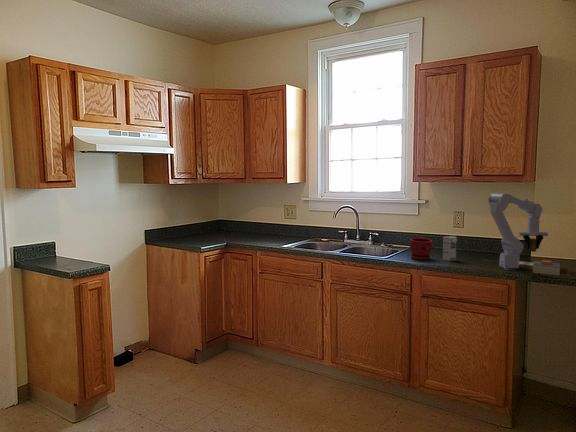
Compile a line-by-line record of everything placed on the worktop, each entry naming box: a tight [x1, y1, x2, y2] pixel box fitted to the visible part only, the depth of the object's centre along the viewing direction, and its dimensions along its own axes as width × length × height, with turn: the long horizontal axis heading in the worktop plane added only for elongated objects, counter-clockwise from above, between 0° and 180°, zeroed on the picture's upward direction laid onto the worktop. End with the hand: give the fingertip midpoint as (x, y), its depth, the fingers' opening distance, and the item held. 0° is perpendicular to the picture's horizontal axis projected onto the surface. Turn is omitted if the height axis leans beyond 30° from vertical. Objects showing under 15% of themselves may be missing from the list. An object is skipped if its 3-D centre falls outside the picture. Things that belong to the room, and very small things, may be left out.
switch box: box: [532, 260, 561, 276], centre depth 235 cm, size 12×12×4 cm
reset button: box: [541, 259, 553, 265], centre depth 235 cm, size 4×4×3 cm
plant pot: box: [409, 237, 433, 261], centre depth 272 cm, size 13×13×12 cm
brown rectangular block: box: [528, 237, 538, 253], centre depth 247 cm, size 3×3×7 cm
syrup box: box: [442, 235, 458, 262], centre depth 267 cm, size 6×6×14 cm
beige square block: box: [519, 260, 534, 266], centre depth 253 cm, size 9×9×1 cm
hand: (532, 248), depth 247 cm, fingers closed on brown rectangular block, 4 cm apart
